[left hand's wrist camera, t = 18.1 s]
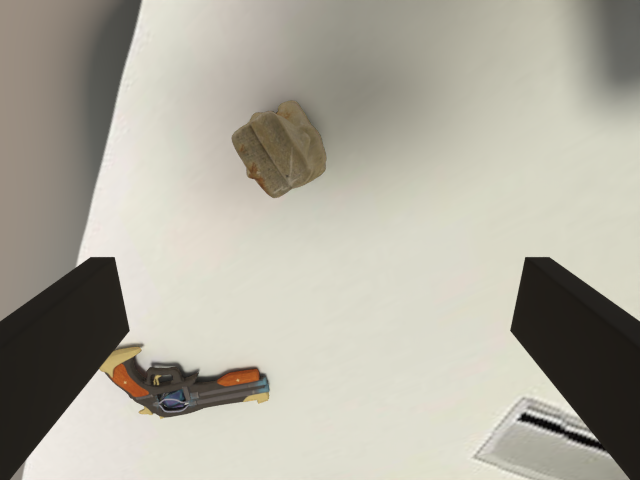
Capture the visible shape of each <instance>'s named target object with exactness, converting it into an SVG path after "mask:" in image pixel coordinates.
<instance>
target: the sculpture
mask: <svg viewBox="0 0 640 480" xmlns="http://www.w3.org/2000/svg"><path fill="white" fill-rule="evenodd" d="M232 142H233V145H234V147H235V149H236V151H237V153H238V155H239V156H240V158H241V159H242V161H243V163H244V164H245V166H246V167H247V176H248V177H249V178H251V179H255V180H256V182H257V183H258V184H259V185H260V187H261V188H262V189H263V190H264V191H265V192H266V193H267V194H268V195H269V196H271V197H272V198H277V197H280V196H282V195H284V194H285V193H287V192H288V191H289V190H291V189H293V188H297V187H300V186H303V185H305V184H307V183H309V182H311V181H312V180H314V179H315V178H317V177H319V176H320V175H321V174H322V173H323V172H324V171H325V168H326V165H325V162H326V153H325V150H324V147H323V143H322V139H321V136H320V134H319V132H318V131H317V130H316V129H315V128H314V127H313V126H312V125H311V123H310V121H309V120H308V118H307V116H306V115H305V113H304V112H303V110H302V108H301V107H300V105H299V104H298V103H297V102H295V101H287V102H284V103H282V104H281V105H280V106H279V107H278V112H277V113H274V112H273V111H267V112H264V113H260V112H258V113H255V114H253V115H252V117H251V119H250V121H249V122H248V123H247V124H246V125H244V126H242V127H241V128H239V129H238V130H237V131H236V132H235V133H234V134H233V135H232Z"/></svg>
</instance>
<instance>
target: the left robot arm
mask: <svg viewBox="0 0 640 480" xmlns="http://www.w3.org/2000/svg"><path fill="white" fill-rule="evenodd" d="M129 331H130V330H129V325H128V320H127V315H126V310H125V305H124V301H123V296H122V291H121V286H120V281H119V276H118V271H117V266H116V261H115V257H90V258H89V259H87V260H86V261H85V262H83V263H82V264H80V265H79V266H78V267H76V268H75V269H73V270H72V271H71V272H69V273H68V274H66V275H65V276H64V277H62V278H61V279H59V280H58V281H57V282H55V283H54V284H52V285H51V286H49V287H48V288H47V289H45V290H44V291H42V292H41V293H40V294H38V295H37V296H35V297H34V298H33V299H31V300H30V301H28V302H27V303H26V304H24V305H23V306H21V307H20V308H18V309H17V310H16V311H14V312H13V313H11V314H10V315H9V316H7V317H6V318H4V319H3V320H2V321H0V480H10V479H11V478H12V476H13V475H14V474H15V473H16V471H17V470H18V469H19V468H20V466H21V465H22V464H23V463H24V461H25V460H26V459H27V458H28V456H29V455H30V454H31V453H32V451H33V450H34V449H35V448H36V447H37V445H38V444H39V443H40V442H41V440H42V439H43V438H44V437H45V435H46V434H47V433H48V432H49V430H50V429H51V428H52V427H53V425H54V424H55V423H56V422H57V420H58V419H59V418H60V417H61V415H62V414H63V413H64V412H65V410H66V409H67V408H68V407H69V406H70V404H71V403H72V402H73V401H74V399H75V398H76V397H77V396H78V394H79V393H80V392H81V391H82V389H83V388H84V387H85V386H86V384H87V383H88V382H89V381H90V379H91V378H92V377H93V376H94V374H95V373H96V372H97V371H98V369H99V368H100V367H101V366H102V365H103V363H104V362H105V361H106V360H107V358H108V357H109V356H110V355H111V353H112V352H113V351H114V350H115V348H116V347H117V346H118V345H119V343H120V342H121V341H122V340H123V338H124V337H125V336H126V335H127V333H128V332H129ZM510 331H511V332H512V333H513V335H514V336H515V337H516V338H517V340H518V341H519V342H520V343H521V345H522V346H523V347H524V348H525V350H526V351H527V352H528V353H529V355H530V356H531V357H532V358H533V360H534V361H535V362H536V363H537V365H538V366H539V367H540V368H541V369H542V371H543V372H544V373H545V374H546V376H547V377H548V378H549V379H550V381H551V382H552V383H553V384H554V386H555V387H556V388H557V389H558V391H559V392H560V393H561V394H562V396H563V397H564V398H565V399H566V401H567V402H568V403H569V404H570V406H571V407H572V408H573V409H574V410H575V412H576V413H577V414H578V415H579V417H580V418H581V419H582V420H583V422H584V423H585V424H586V425H587V427H588V428H589V429H590V430H591V432H592V433H593V434H594V435H595V437H596V438H597V439H598V440H599V442H600V443H601V444H602V445H603V447H604V448H605V449H606V450H607V451H608V453H609V454H610V455H611V456H612V458H613V459H614V460H615V461H616V463H617V464H618V465H619V466H620V468H621V469H622V470H623V471H624V473H625V474H626V475H627V476H628V478H629V479H630V480H640V321H638V320H637V319H636V318H634V317H633V316H631V315H630V314H629V313H627V312H626V311H624V310H623V309H622V308H620V307H619V306H617V305H616V304H614V303H613V302H612V301H610V300H609V299H607V298H606V297H605V296H603V295H602V294H600V293H599V292H598V291H596V290H595V289H593V288H592V287H591V286H589V285H588V284H586V283H585V282H584V281H582V280H581V279H579V278H578V277H576V276H575V275H574V274H572V273H571V272H569V271H568V270H567V269H565V268H564V267H562V266H561V265H560V264H558V263H557V262H555V261H554V260H553V259H551V258H550V257H525V261H524V266H523V271H522V276H521V281H520V286H519V291H518V296H517V301H516V305H515V310H514V315H513V320H512V325H511V330H510Z"/></svg>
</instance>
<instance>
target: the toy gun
mask: <svg viewBox="0 0 640 480" xmlns="http://www.w3.org/2000/svg"><path fill="white" fill-rule="evenodd" d="M140 352H141V348H139V347H131V348H125V349H119V350H116V351H113V352H112V353H111V355H110V356H109V357H108V358H107V360H106V361H105V362H104V363H103V365H102V366H101V367H100V368H99V369H100V371H102V372H105V374H106V375H107V376H108V377H109V378H110V379H111V380H112V382H114V383H115V384H116V385H117V386H118V387H120V388H121V389H122V390H124V391H125V392H126V393H127V394H128V395H129V397H130V398H132V399H133V400H134V401H135V402H137V403H139V404H141V405H143V406H144V409H143V410H141V411H139V413H140V414H149V415H152V414H153V413H156V414H157V415H159V416H160V419H162V418H165V417H173V416H178V415H184V414H188V413H192V412H195V411H198V410H200V409H203V408H207V407H212V406H218V405H224V404H230V403H237V402H246V401H253V400H257V401H258V404H259V403H262V402H265V401H268V399H269V385H268V384H267V379H266V377H264V378H263V376H261V377H260V375H259V371H258V370H257V369H252V370H245V371H238V372H231V373H228V374H226V375H224V376H223V377H221V378H219V379H218V380H215V381H210V382H195V380H196V378H197V376H198V374H199V373H196V374H194V375H192V376H189V377H186V378H183V377H182V374H181V371H180V370H179V369H178V368H176V367H170V368H154V367H150V368H149V369H148V370H147V379H146V378H144V377H143V376H142V375H141V374H140V373H139V372H138V371H137V369H136V368H135V365H134V356H135V355H137V354H138V353H140ZM169 374H170V375H172V376H173V380H171V381H166V382H160V383H159V380H158V378H159V377H161V376H162V375H169ZM152 375H156V376H155V378H154V382H153V380H152ZM155 379H156V381H157V382H155ZM167 392H171V393H169V394H168V395H167V396H165V397H164V395H165V393H167ZM162 393H164V394H163V396H161V394H162ZM163 397H164V398H163ZM186 402H189V404H187V405H184V404H185V403H186ZM164 405H166V406H167V407H166V406H164Z"/></svg>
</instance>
